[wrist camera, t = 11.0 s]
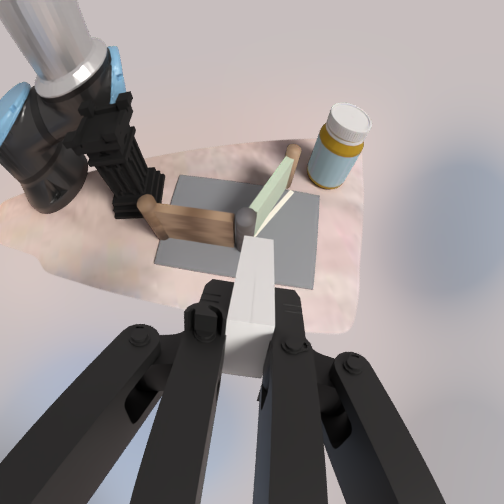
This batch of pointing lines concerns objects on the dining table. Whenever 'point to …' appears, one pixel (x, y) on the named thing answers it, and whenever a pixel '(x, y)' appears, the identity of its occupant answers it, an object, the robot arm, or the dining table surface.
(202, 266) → the board
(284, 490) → the robot arm
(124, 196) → the chess piece
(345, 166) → the bottle
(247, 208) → the walnut fence section
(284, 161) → the fence panel
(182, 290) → the dining table surface
